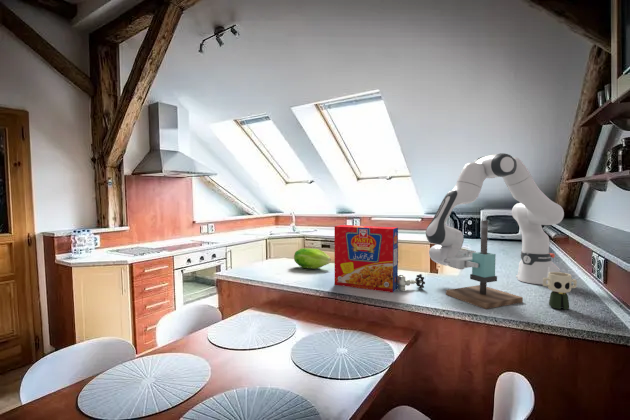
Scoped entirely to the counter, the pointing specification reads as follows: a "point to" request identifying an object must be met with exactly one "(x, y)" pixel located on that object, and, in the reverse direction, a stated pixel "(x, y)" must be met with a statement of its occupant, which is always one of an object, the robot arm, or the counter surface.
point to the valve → (409, 282)
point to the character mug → (559, 288)
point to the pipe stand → (484, 286)
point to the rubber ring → (482, 279)
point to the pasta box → (366, 257)
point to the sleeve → (484, 264)
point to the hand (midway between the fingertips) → (485, 264)
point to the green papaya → (311, 258)
